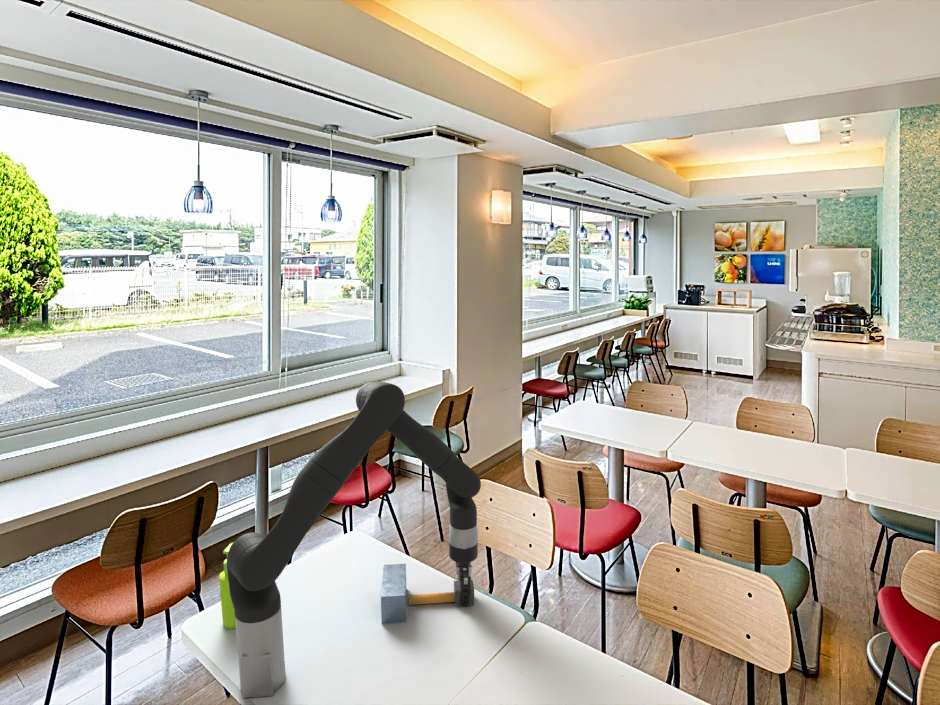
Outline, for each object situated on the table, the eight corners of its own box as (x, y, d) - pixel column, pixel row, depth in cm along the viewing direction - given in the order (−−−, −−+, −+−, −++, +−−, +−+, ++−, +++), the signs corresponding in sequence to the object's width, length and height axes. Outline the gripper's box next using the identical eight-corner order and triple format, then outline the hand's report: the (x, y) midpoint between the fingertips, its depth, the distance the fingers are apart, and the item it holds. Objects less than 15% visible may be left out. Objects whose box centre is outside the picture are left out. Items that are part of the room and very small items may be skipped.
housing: (405, 622, 143) (405, 595, 142) (381, 623, 142) (380, 596, 141) (406, 588, 157) (405, 563, 156) (384, 589, 157) (383, 564, 155)
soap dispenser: (254, 612, 147) (248, 540, 143) (241, 629, 140) (235, 555, 137) (232, 610, 148) (226, 539, 144) (218, 628, 141) (211, 553, 137)
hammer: (474, 604, 150) (474, 589, 149) (409, 609, 148) (408, 593, 147) (472, 594, 154) (472, 579, 153) (409, 598, 153) (408, 583, 152)
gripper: (447, 527, 155) (447, 584, 158) (450, 555, 141) (451, 617, 144) (474, 525, 156) (474, 582, 159) (481, 553, 142) (480, 615, 145)
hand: (463, 598), depth 152 cm, fingers closed on hammer, 4 cm apart
